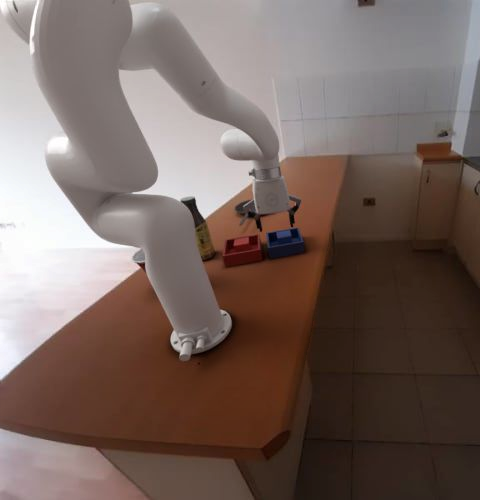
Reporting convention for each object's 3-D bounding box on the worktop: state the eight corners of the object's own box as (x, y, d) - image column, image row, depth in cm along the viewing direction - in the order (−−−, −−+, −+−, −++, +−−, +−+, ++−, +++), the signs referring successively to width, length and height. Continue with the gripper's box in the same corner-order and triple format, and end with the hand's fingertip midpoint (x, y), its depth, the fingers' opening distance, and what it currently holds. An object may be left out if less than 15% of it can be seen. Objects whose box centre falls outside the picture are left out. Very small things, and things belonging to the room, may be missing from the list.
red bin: (262, 260, 87) (260, 249, 85) (225, 267, 85) (222, 256, 83) (261, 244, 96) (259, 233, 94) (228, 249, 94) (225, 239, 92)
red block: (251, 255, 89) (248, 243, 87) (237, 258, 88) (233, 245, 86) (251, 248, 93) (248, 236, 91) (237, 251, 92) (234, 239, 90)
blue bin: (305, 252, 90) (303, 241, 88) (270, 259, 87) (267, 248, 85) (299, 237, 99) (298, 227, 97) (268, 242, 97) (266, 232, 95)
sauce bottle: (209, 261, 88) (188, 202, 78) (191, 260, 90) (169, 202, 80) (220, 251, 94) (202, 195, 84) (203, 250, 95) (184, 194, 85)
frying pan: (278, 202, 132) (277, 194, 130) (266, 232, 104) (264, 223, 102) (241, 204, 132) (239, 197, 130) (219, 235, 104) (216, 226, 103)
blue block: (293, 247, 92) (291, 235, 89) (279, 250, 91) (277, 238, 88) (291, 241, 95) (289, 230, 93) (278, 244, 95) (276, 232, 92)
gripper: (235, 179, 74) (248, 237, 83) (299, 172, 78) (305, 228, 86) (237, 173, 81) (248, 227, 89) (295, 167, 84) (301, 220, 92)
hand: (276, 228), depth 87 cm, fingers open, 9 cm apart
